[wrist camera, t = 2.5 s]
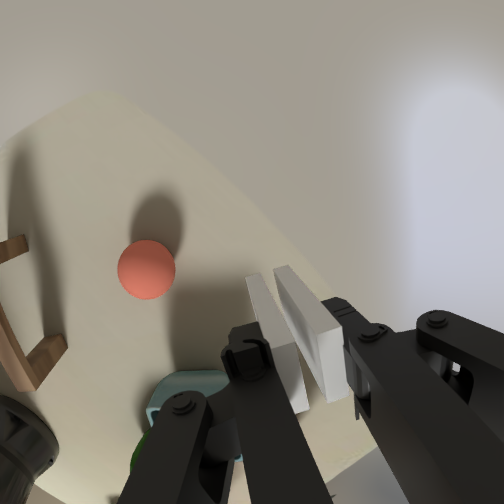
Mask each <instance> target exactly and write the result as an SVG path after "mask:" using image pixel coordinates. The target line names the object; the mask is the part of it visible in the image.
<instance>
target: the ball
mask: <svg viewBox="0 0 504 504" xmlns="http://www.w3.org/2000/svg"><path fill="white" fill-rule="evenodd" d="M118 277H119V280H120V282H121V284H122V286H123V287H124V289H125V290H126V291H127V292H128V293H129V294H131V295H132V296H134V297H137V298H139V299H154V298H157V297H159V296H161V295H163V294H164V293H165V292H166V291H167V290H168V289H169V288H170V286H171V285H172V283H173V281H174V277H175V263H174V259H173V257H172V255H171V253H170V252H169V251H168V249H167V248H166V247H164V246H163V245H162V244H160V243H158V242H156V241H152V240H140V241H137V242H134V243H133V244H131V245H129V246H128V247H127V248H126V249H125V250H124V251H123V253H122V254H121V256H120V259H119V262H118Z"/></svg>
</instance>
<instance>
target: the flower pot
mask: <svg viewBox="0 0 504 504" xmlns="http://www.w3.org/2000/svg"><path fill="white" fill-rule="evenodd" d="M229 382H230V381H229V378H228V375H227V374H226V373H224V372H222V371H220V370H201V371H178V372H175V373H172V374H169V375H168V376H166V377H165V378H163V379H162V380H161V381H160V383H159V384H158V386H157V387H156V389H155V391H154V393H153V395H152V397H151V400H150V402H149V404H148V406H147V408H146V414H147V417H148V419H149V422H150V425H151V427H152V425H153V423H154V421H155V419H156V417H157V414H158V412H159V410H160V408H161V406H162V405H163V403H164V402H165V401H166V400H167V399H168V398H170V397H171V396H172V395H174V394H177V393H179V392H182V391H188V390H192V391H198V392H201V393H203V394H204V396H205V397H208V396H210V395H212V394H215V393H216V392H218V391H220V390H222V389H223V388H224V387H226V386H227V384H228V383H229ZM234 459H235V462H239V461H243V458H242V454H240V455H238V456H236V457H234Z"/></svg>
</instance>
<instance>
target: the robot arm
mask: <svg viewBox="0 0 504 504" xmlns="http://www.w3.org/2000/svg"><path fill="white" fill-rule="evenodd" d="M273 272H274V276H275V280H276V285H277V289H278V293H279V297H280V302H281V306H282V310H283V314H284V318H283V316H282V314H281V312H280V310H279V308H278V306H277V304H276V302H275V300H274V298H273V296H272V294H271V292H270V291H269V289H268V287H267V285H266V283H265V281H264V279H263V277H262V275H261V273H258V274H254V275H250V276H247V277H245V280H246V283H247V287H248V291H249V294H250V298H251V302H252V305H253V309H254V313H255V316H256V320H257V322H253V323H250V324H246V325H242V326H239V327H235V328H233V329H232V330H231V332H230V334H229V335H228V338H229V344H228V345H227V346H226V347H225V348H224V349H223V350H222V352H221V359H222V362H223V364H224V367H225V370H226V373H227V375H228V378H229V381H230V382H229V383H228V384H227V386H226V387H224V388H223V389H222V390H220V391H218V392H216V393H215V394H212V395H210V396H208V397H205V396H204V394H203V393H201V392H198V391H192V390H188V391H182V392H179V393H177V394H174V395H172V396H171V397H170V398H168V399H167V400H166V401H165V402H164V403H163V405H162V406H161V408H160V410H159V412H158V414H157V417H156V419H155V421H154V423H153V425H152V427H151V430H150V432H149V434H148V436H147V438H146V440H145V442H144V445H143V447H142V449H141V451H140V453H139V455H138V458H137V460H136V462H135V464H134V466H133V469H132V471H131V473H130V475H129V477H128V480H127V482H126V484H125V486H124V488H123V491H122V493H121V495H120V497H119V500H118V502H117V504H227V503H228V498H229V492H230V486H231V480H232V474H233V468H234V462H235V459H234V457H236V456H238V455H240V454H242V458H243V463H244V469H245V474H246V479H247V484H248V489H249V494H250V499H251V504H333V501H332V499H331V497H330V495H329V492H328V490H327V488H326V485H325V483H324V481H323V479H322V476H321V474H320V472H319V469H318V467H317V465H316V462H315V460H314V458H313V455H312V453H311V451H310V448H309V446H308V444H307V441H306V439H305V437H304V434H303V432H302V430H301V427H300V425H299V422H298V420H297V418H296V415H295V414H297V413H300V412H303V411H306V410H310V409H309V404H308V399H307V394H306V389H305V384H304V380H303V375H302V370H301V365H300V361H299V356H298V351H297V347H296V343H297V345H298V347H299V349H300V351H301V353H302V355H303V357H304V358H305V360H306V362H307V364H308V366H309V368H310V370H311V372H312V374H313V376H314V378H315V380H316V382H317V384H318V386H319V388H320V390H321V392H322V394H323V396H324V398H325V400H326V402H327V403H330V402H333V401H336V400H339V399H341V398H344V397H347V396H349V386H350V387H351V389H352V390H353V392H354V403H355V416H356V420H358V419H359V413H360V414H361V416H362V418H363V419H364V421H365V423H366V425H367V427H368V428H369V430H370V432H371V434H372V436H373V437H374V439H375V441H376V443H377V445H378V447H379V448H380V450H381V452H382V454H383V456H384V457H385V459H386V461H387V463H388V465H389V466H390V468H391V470H392V472H393V474H394V476H395V477H396V479H397V481H398V483H399V485H400V487H401V489H402V490H403V492H404V494H405V496H406V498H407V500H408V502H409V503H410V504H504V334H503V333H501V332H498V331H496V330H493V329H491V328H488V327H486V326H484V325H481V324H479V323H476V322H474V321H471V320H469V319H466V318H464V317H461V316H459V315H456V314H454V313H451V312H448V311H444V310H433V311H429V312H426V313H424V314H422V315H421V316H420V317H419V318H418V319H417V323H416V329H414V330H409V331H404V332H397V333H395V332H394V331H393V330H392V329H391V328H390V327H388V326H386V325H384V324H379V323H370V322H369V321H368V320H367V319H365V318H364V317H363V316H362V315H361V314H360V313H359V312H358V311H356V309H355V308H354V307H352V306H351V304H349V303H348V302H347V301H346V300H344V299H341V298H338V297H334V298H331V299H328V300H324V301H321V302H320V301H319V300H318V298H317V297H316V296H315V295H314V294H313V293H312V291H311V290H310V289H309V288H308V287H307V286H306V285H305V283H304V282H303V281H302V280H301V279H300V278H299V277H298V275H297V274H296V273H295V272H294V271H293V270H292V269H291V268H290V266H289V265H287V266H283V267H279V268H276V269H273ZM284 319H285V320H284ZM285 321H286V322H285ZM286 323H287V324H286ZM287 325H288V326H287ZM288 327H289V328H288ZM289 329H290V330H289ZM290 331H291V332H290ZM291 333H292V334H291ZM292 335H293V336H292ZM293 337H294V338H293ZM294 339H295V340H294ZM295 341H296V342H295ZM453 362H455V363H457V364H459V365H461V366H460V371H459V372H456V371H454V370H452V368H453ZM348 384H349V386H348ZM58 454H59V446H58V443H57V441H56V439H55V437H54V435H53V434H52V433H51V431H50V430H49V429H48V427H47V426H46V425H45V424H44V423H43V422H42V421H41V420H40V419H39V418H38V417H37V416H36V415H35V414H33V413H32V412H31V411H30V410H28V409H27V408H26V407H24V406H23V405H21V404H20V403H18V402H16V401H14V400H12V399H10V398H8V397H5V396H0V504H26V501H27V499H28V496H29V494H30V491H31V489H32V486H33V484H34V482H35V480H36V479H37V478H38V477H39V476H40V475H41V474H43V473H44V472H45V471H46V470H47V469H48V468H50V467H51V466H52V465H53V464H54V462H55V461H56V458H57V456H58Z"/></svg>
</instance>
